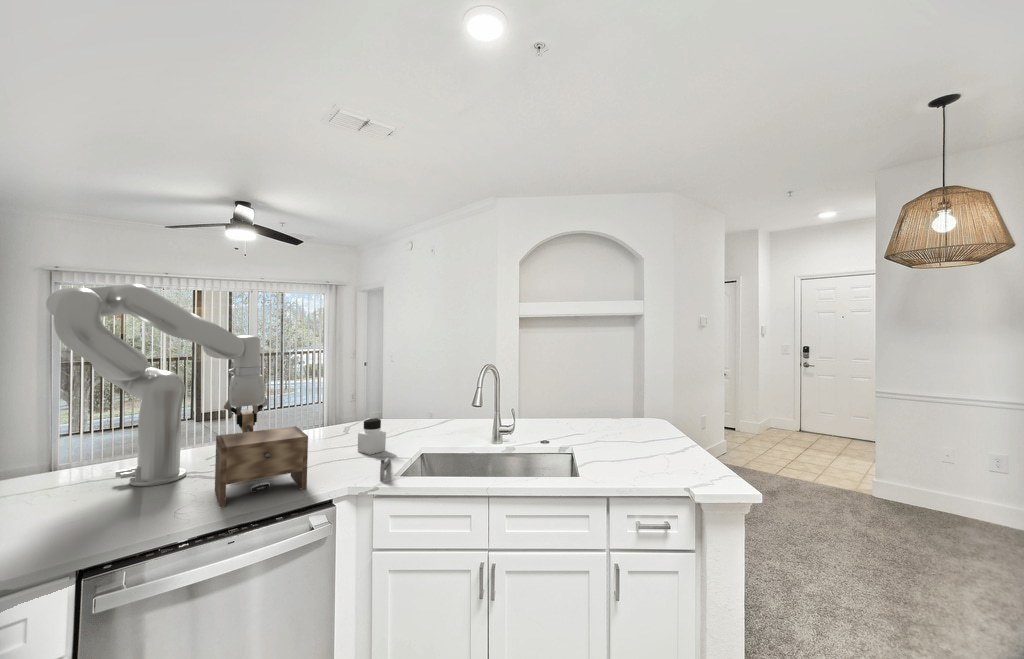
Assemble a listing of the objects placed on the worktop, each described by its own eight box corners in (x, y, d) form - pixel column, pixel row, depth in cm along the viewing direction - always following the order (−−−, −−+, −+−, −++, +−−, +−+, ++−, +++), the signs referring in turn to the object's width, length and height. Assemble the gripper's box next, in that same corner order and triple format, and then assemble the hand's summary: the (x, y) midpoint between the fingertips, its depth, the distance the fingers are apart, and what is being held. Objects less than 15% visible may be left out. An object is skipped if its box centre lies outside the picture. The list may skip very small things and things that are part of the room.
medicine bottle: (385, 450, 154) (386, 418, 154) (370, 455, 148) (370, 421, 148) (373, 447, 158) (373, 416, 158) (357, 451, 152) (358, 419, 152)
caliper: (383, 482, 124) (384, 461, 124) (379, 482, 124) (380, 461, 124) (389, 460, 144) (390, 442, 144) (386, 460, 144) (387, 442, 144)
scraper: (246, 454, 121) (246, 434, 120) (234, 428, 142) (235, 410, 142) (270, 450, 125) (270, 431, 124) (255, 425, 146) (255, 408, 146)
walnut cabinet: (220, 509, 102) (221, 448, 102) (214, 490, 114) (216, 435, 114) (307, 491, 115) (309, 437, 115) (294, 475, 127) (296, 426, 127)
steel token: (257, 486, 118) (257, 483, 118) (272, 485, 118) (272, 481, 118) (247, 492, 113) (247, 488, 114) (263, 490, 113) (262, 487, 113)
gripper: (218, 374, 133) (218, 431, 133) (276, 371, 143) (276, 424, 143) (216, 372, 138) (216, 426, 139) (272, 369, 149) (272, 420, 149)
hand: (246, 425), depth 141 cm, fingers closed on scraper, 3 cm apart
